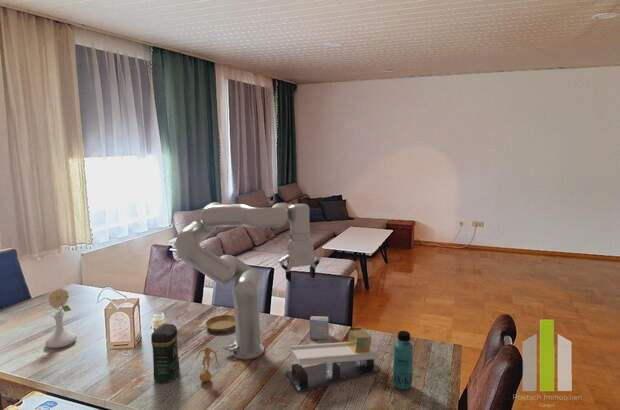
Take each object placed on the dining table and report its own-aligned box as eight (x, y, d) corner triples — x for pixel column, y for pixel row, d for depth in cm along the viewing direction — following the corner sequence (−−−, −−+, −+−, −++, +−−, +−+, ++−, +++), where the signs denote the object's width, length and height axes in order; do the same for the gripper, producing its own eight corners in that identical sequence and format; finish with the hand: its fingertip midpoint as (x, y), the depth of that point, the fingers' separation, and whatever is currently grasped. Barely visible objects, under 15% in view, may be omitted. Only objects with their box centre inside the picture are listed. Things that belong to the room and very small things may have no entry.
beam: (298, 365, 134) (299, 358, 134) (289, 351, 143) (290, 345, 143) (375, 358, 146) (376, 352, 145) (362, 346, 154) (363, 340, 154)
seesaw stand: (297, 393, 134) (297, 375, 133) (286, 374, 145) (285, 357, 144) (380, 372, 146) (380, 355, 145) (363, 356, 157) (364, 340, 156)
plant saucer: (202, 323, 187) (202, 318, 187) (233, 317, 194) (233, 312, 193) (209, 337, 174) (209, 331, 174) (242, 330, 180) (242, 324, 180)
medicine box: (328, 335, 174) (328, 316, 173) (328, 340, 170) (328, 320, 169) (310, 334, 175) (310, 315, 174) (309, 339, 171) (309, 320, 169)
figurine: (192, 382, 141) (190, 351, 139) (200, 373, 147) (198, 342, 145) (213, 386, 139) (211, 353, 137) (221, 376, 145) (219, 345, 143)
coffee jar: (173, 383, 140) (169, 334, 138) (150, 383, 141) (146, 334, 138) (183, 368, 150) (179, 321, 147) (162, 368, 150) (158, 321, 147)
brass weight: (355, 353, 144) (357, 337, 144) (347, 346, 150) (349, 330, 149) (369, 352, 147) (371, 337, 146) (361, 345, 152) (363, 329, 152)
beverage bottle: (390, 382, 139) (391, 328, 136) (408, 381, 140) (410, 327, 137) (395, 394, 133) (396, 337, 130) (415, 393, 133) (416, 336, 130)
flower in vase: (39, 347, 167) (32, 290, 163) (65, 335, 177) (58, 281, 173) (61, 353, 162) (54, 294, 158) (86, 340, 172) (80, 285, 168)
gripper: (281, 240, 147) (282, 285, 150) (324, 236, 153) (324, 278, 156) (275, 236, 154) (276, 279, 157) (316, 232, 160) (317, 273, 163)
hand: (300, 278), depth 156 cm, fingers open, 9 cm apart
